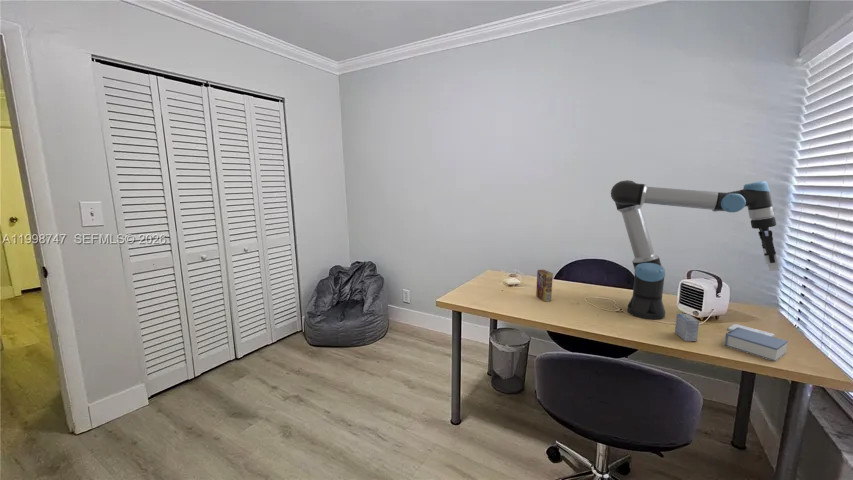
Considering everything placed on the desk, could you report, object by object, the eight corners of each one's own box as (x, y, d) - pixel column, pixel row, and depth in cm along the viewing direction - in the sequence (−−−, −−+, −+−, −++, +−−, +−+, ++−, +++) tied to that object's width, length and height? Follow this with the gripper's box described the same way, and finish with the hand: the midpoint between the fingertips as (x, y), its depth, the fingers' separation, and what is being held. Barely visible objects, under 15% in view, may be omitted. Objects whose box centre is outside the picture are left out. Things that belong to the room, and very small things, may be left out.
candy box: (551, 301, 181) (553, 273, 178) (544, 301, 180) (545, 273, 177) (542, 295, 189) (544, 269, 187) (535, 296, 188) (536, 269, 186)
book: (724, 345, 130) (726, 333, 129) (736, 339, 136) (737, 327, 135) (774, 362, 118) (777, 348, 117) (785, 353, 124) (787, 340, 123)
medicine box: (697, 342, 133) (700, 321, 132) (684, 341, 134) (687, 320, 132) (686, 333, 141) (688, 313, 139) (674, 332, 141) (676, 313, 140)
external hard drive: (734, 326, 148) (774, 337, 138) (727, 331, 143) (768, 342, 133) (735, 323, 148) (775, 333, 137) (728, 327, 143) (768, 338, 133)
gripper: (778, 219, 133) (789, 272, 133) (771, 213, 152) (780, 259, 152) (752, 223, 138) (762, 274, 138) (748, 216, 157) (757, 261, 157)
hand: (772, 266), depth 145 cm, fingers open, 13 cm apart
